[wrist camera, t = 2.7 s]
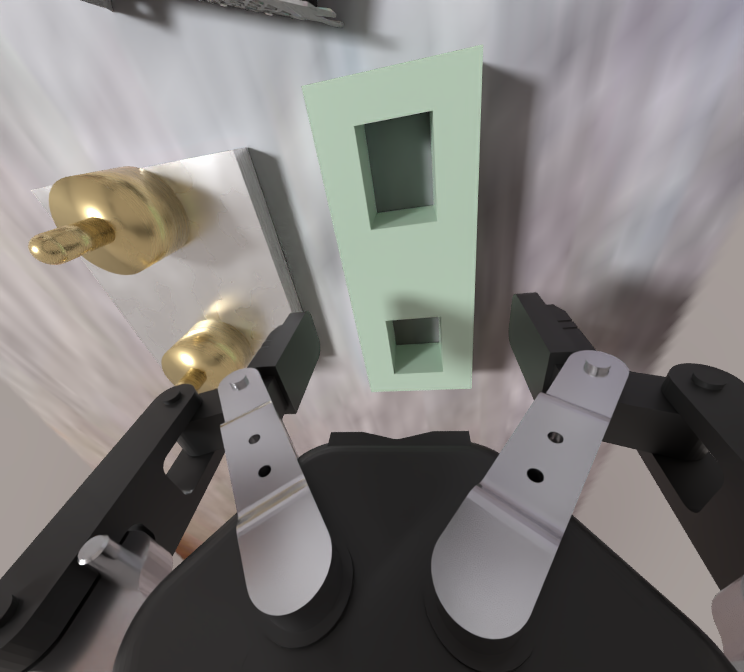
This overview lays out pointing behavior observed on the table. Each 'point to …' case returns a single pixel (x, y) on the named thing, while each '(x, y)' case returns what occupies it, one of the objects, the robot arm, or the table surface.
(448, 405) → the table surface
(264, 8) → the graphics card
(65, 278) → the table surface
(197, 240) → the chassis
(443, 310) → the board
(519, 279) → the table surface
